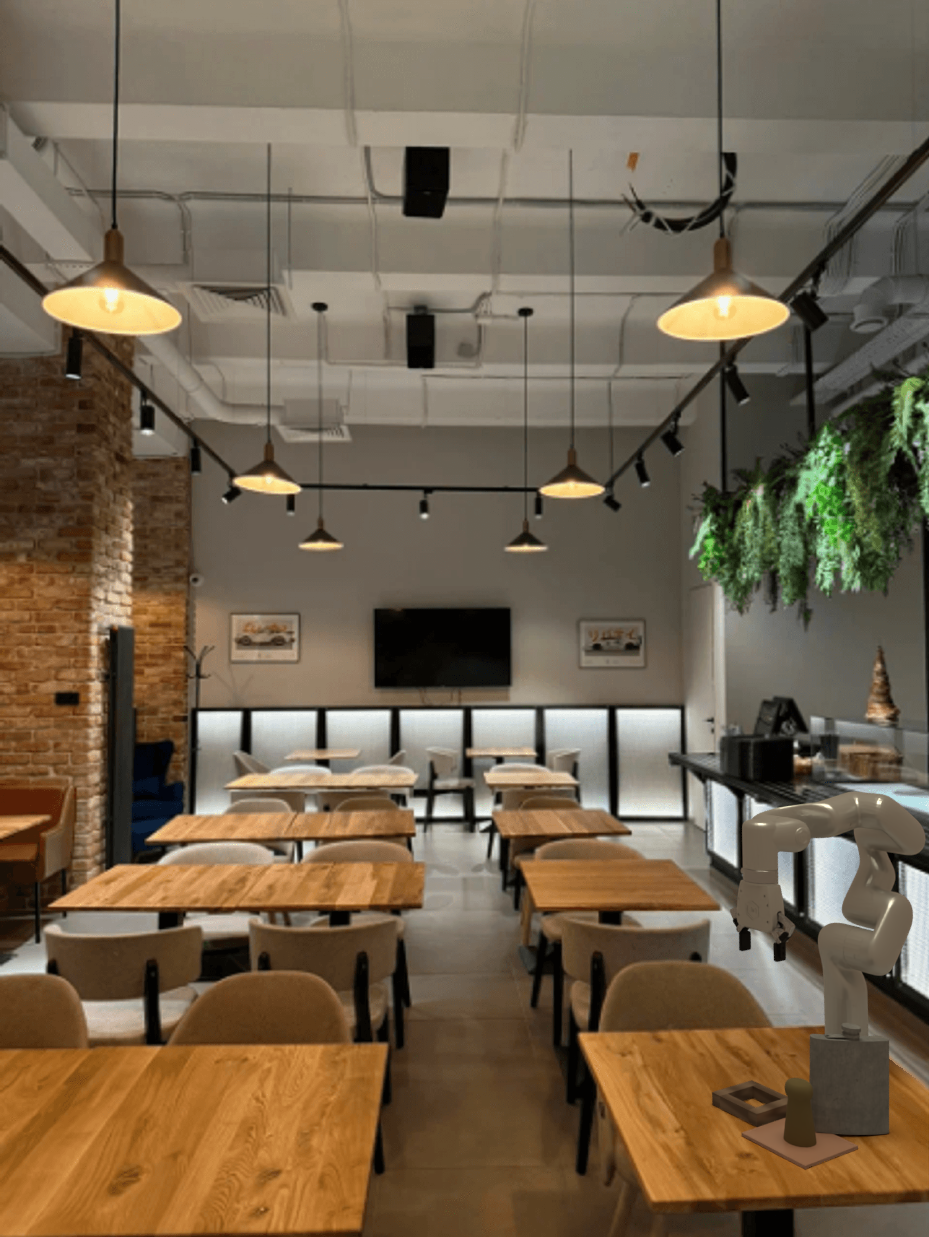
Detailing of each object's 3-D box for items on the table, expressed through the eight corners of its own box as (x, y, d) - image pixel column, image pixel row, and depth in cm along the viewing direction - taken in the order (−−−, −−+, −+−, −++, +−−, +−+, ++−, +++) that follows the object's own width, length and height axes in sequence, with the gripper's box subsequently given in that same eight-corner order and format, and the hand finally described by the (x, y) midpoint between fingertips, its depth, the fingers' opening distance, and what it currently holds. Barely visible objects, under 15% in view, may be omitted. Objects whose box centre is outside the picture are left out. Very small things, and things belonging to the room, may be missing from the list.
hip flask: (883, 1126, 187) (884, 1022, 189) (894, 1135, 183) (894, 1029, 185) (806, 1125, 186) (807, 1020, 188) (815, 1134, 182) (816, 1027, 184)
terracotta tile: (793, 1118, 190) (793, 1114, 191) (858, 1148, 178) (858, 1145, 178) (741, 1135, 183) (741, 1132, 183) (805, 1169, 170) (805, 1165, 170)
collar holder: (752, 1092, 203) (751, 1080, 203) (797, 1113, 193) (797, 1100, 193) (712, 1104, 197) (712, 1092, 197) (757, 1127, 186) (756, 1114, 187)
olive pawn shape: (814, 1134, 182) (813, 1075, 183) (818, 1148, 176) (817, 1088, 177) (781, 1130, 184) (780, 1072, 184) (784, 1145, 178) (783, 1084, 179)
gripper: (719, 871, 214) (720, 948, 213) (780, 885, 199) (782, 967, 198) (742, 868, 218) (743, 944, 216) (804, 881, 203) (805, 962, 202)
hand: (762, 955), depth 207 cm, fingers open, 9 cm apart
